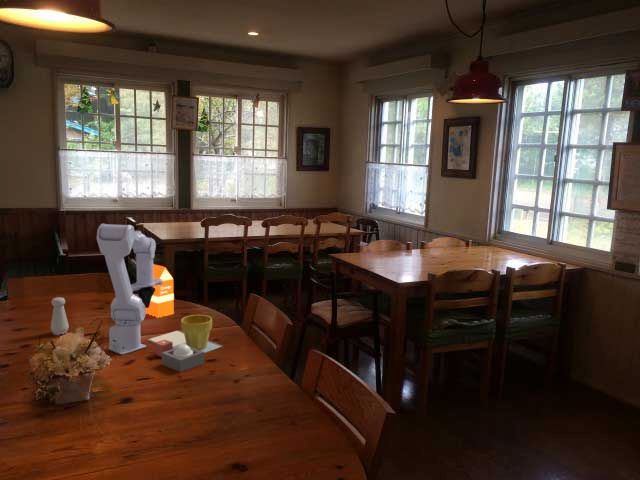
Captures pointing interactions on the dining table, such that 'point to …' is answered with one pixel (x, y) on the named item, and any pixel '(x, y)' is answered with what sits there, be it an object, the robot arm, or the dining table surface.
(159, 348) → the red die
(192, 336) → the plant pot
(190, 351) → the dome button
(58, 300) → the salt shaker
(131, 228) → the robot arm
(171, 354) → the dome base
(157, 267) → the orange juice
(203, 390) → the dining table surface
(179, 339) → the game board
